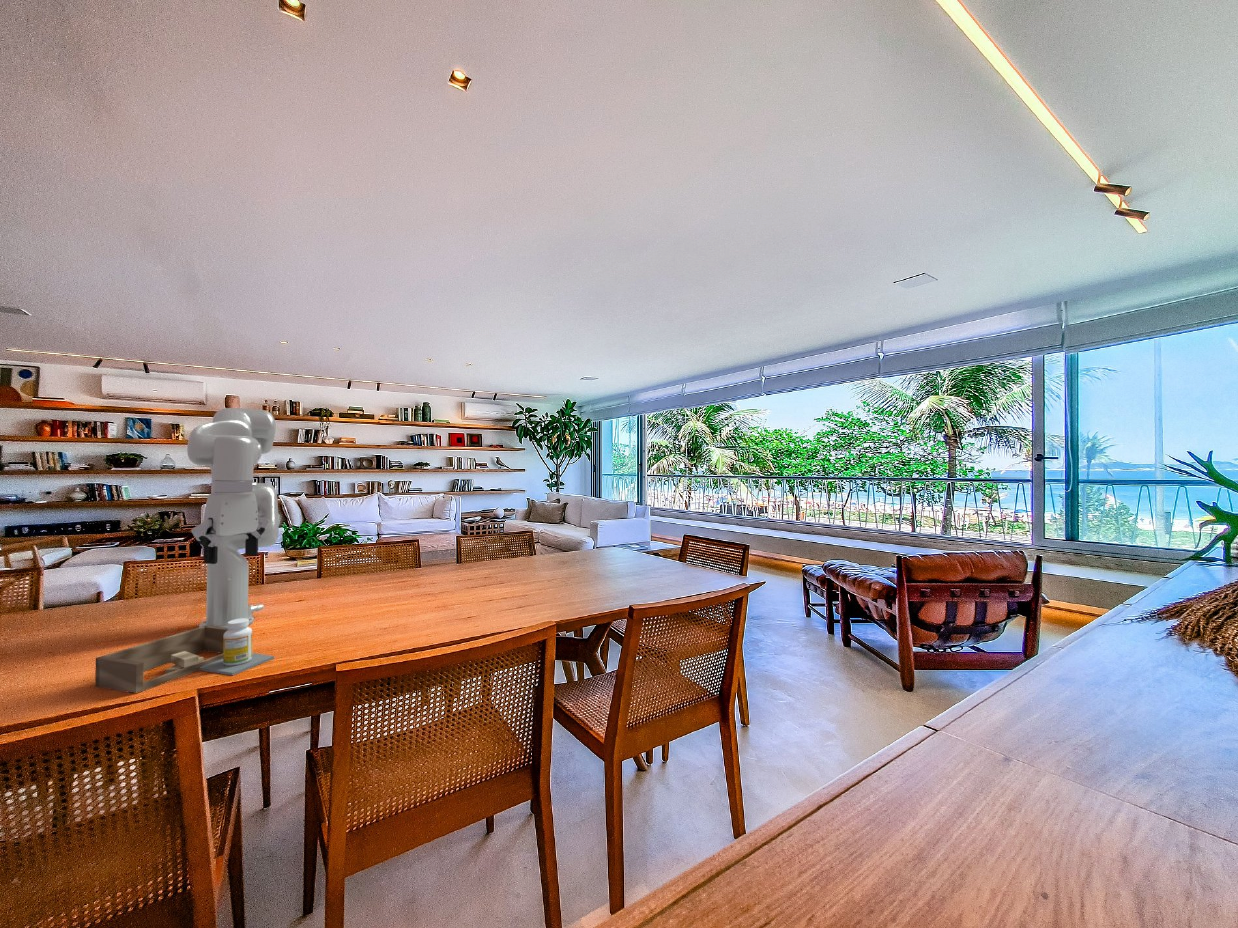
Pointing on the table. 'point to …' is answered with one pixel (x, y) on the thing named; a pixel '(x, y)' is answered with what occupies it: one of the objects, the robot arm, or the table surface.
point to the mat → (235, 669)
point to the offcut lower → (179, 666)
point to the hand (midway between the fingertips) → (231, 559)
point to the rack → (156, 659)
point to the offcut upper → (184, 659)
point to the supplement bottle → (237, 642)
